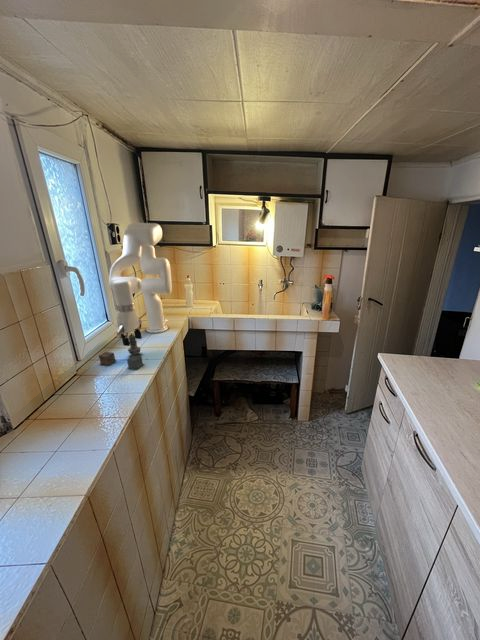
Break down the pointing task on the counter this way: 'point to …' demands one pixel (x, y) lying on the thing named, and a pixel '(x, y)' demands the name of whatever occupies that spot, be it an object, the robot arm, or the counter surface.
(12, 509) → the counter surface
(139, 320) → the robot arm
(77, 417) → the counter surface
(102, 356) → the walnut block
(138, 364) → the slate block
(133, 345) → the stone chess piece
